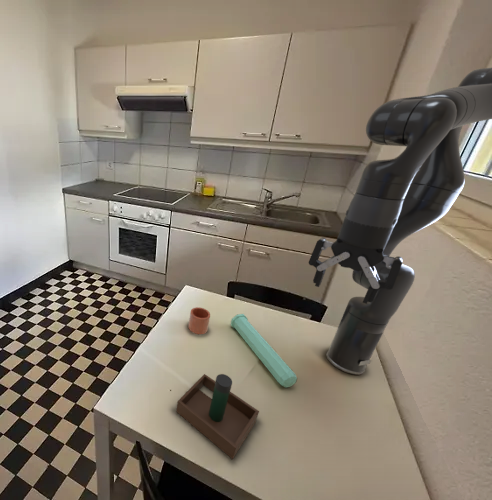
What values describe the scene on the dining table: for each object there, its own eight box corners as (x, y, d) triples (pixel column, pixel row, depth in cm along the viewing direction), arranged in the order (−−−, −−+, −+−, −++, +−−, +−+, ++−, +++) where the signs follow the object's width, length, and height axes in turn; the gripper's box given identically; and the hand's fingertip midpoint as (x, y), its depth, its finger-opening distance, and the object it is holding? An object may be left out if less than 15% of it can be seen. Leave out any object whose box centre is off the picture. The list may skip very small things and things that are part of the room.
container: (301, 371, 69) (245, 310, 91) (280, 381, 69) (228, 318, 91) (302, 385, 72) (247, 323, 94) (282, 395, 72) (231, 330, 94)
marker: (213, 406, 66) (221, 371, 61) (225, 415, 64) (235, 380, 59) (205, 415, 63) (213, 379, 59) (218, 425, 61) (227, 389, 57)
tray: (202, 383, 72) (204, 373, 70) (255, 421, 63) (259, 411, 62) (176, 411, 64) (177, 401, 63) (232, 459, 56) (236, 448, 54)
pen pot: (195, 320, 96) (197, 305, 93) (210, 329, 92) (213, 313, 89) (184, 328, 91) (186, 312, 89) (200, 338, 88) (203, 321, 85)
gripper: (420, 225, 50) (384, 301, 57) (330, 208, 59) (308, 275, 65) (420, 234, 45) (380, 316, 52) (321, 213, 54) (298, 286, 60)
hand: (340, 293), depth 59 cm, fingers open, 8 cm apart
